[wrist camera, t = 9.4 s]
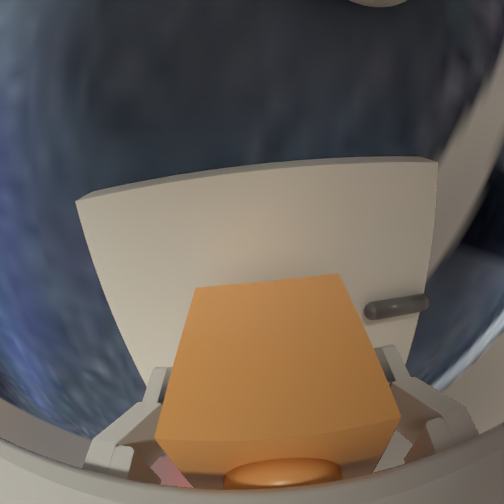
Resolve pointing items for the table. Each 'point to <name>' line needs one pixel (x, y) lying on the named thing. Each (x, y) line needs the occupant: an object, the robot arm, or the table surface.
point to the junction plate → (264, 242)
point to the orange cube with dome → (275, 388)
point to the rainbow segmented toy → (378, 2)
